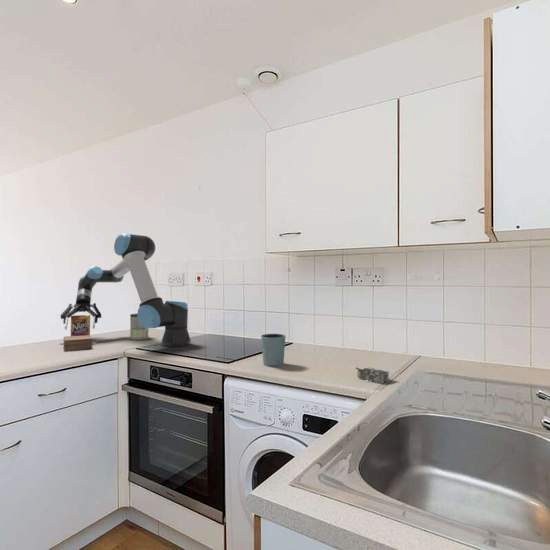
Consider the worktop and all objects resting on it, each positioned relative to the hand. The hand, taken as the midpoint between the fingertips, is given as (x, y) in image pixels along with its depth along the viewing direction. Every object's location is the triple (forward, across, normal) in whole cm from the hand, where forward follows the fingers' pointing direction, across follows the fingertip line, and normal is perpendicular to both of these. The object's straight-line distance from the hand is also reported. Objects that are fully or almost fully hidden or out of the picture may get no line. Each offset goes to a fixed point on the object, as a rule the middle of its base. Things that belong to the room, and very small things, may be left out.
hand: (79, 327), depth 200 cm
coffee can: (+2, -31, -10) cm, 32 cm away
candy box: (+7, 0, -5) cm, 9 cm away
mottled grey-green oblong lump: (+87, -108, +75) cm, 158 cm away
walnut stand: (+16, -1, +4) cm, 17 cm away
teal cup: (+64, -82, +52) cm, 116 cm away
